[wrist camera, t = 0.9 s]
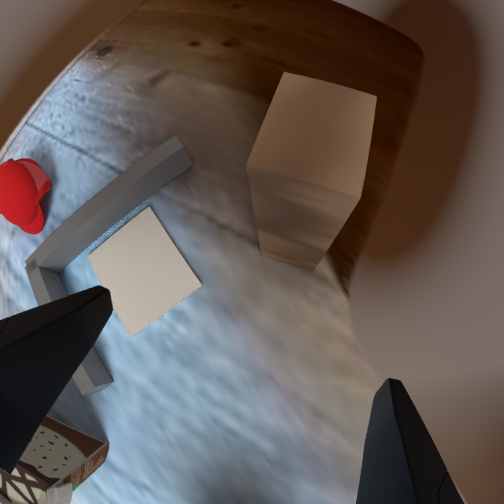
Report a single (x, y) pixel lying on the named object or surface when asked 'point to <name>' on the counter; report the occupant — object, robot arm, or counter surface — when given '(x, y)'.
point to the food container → (52, 465)
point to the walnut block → (308, 167)
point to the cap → (23, 193)
